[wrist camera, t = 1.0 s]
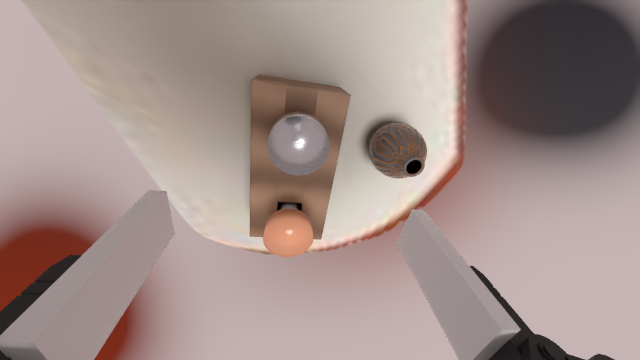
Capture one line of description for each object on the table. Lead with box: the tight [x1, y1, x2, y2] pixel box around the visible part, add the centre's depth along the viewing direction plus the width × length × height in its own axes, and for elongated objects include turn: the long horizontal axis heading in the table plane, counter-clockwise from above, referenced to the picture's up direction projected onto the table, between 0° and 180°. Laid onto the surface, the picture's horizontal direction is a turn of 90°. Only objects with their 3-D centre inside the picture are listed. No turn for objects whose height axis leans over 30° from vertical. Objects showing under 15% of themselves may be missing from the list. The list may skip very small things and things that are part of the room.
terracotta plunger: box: [263, 202, 313, 257], centre depth 29 cm, size 6×6×6 cm
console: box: [250, 75, 351, 239], centre depth 30 cm, size 20×10×6 cm, turn 171°
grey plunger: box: [267, 112, 330, 175], centre depth 23 cm, size 6×6×6 cm
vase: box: [369, 123, 427, 178], centre depth 29 cm, size 7×7×9 cm
